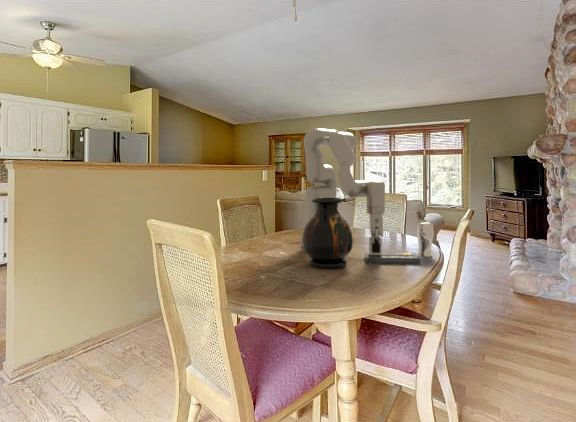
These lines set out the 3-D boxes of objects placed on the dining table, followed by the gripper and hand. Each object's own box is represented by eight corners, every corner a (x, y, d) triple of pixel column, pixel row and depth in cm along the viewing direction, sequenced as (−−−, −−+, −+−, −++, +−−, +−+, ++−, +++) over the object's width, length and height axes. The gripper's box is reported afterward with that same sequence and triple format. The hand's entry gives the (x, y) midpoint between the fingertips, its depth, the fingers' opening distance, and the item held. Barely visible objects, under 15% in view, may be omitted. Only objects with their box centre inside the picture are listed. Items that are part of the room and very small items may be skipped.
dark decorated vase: (348, 273, 136) (348, 201, 132) (295, 269, 143) (294, 200, 140) (357, 260, 156) (357, 196, 153) (310, 256, 163) (309, 196, 160)
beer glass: (434, 257, 157) (435, 224, 156) (417, 257, 159) (418, 224, 157) (431, 253, 164) (432, 222, 162) (415, 253, 166) (416, 221, 164)
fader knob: (369, 255, 152) (369, 238, 151) (368, 252, 156) (368, 237, 155) (381, 255, 151) (381, 238, 150) (380, 252, 155) (380, 237, 154)
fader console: (366, 263, 150) (366, 257, 150) (364, 258, 159) (364, 252, 159) (420, 264, 147) (420, 258, 147) (415, 258, 156) (415, 253, 156)
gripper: (387, 212, 142) (386, 255, 144) (382, 207, 159) (381, 246, 161) (368, 212, 143) (368, 255, 145) (365, 207, 160) (364, 246, 163)
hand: (375, 250), depth 153 cm, fingers open, 6 cm apart
